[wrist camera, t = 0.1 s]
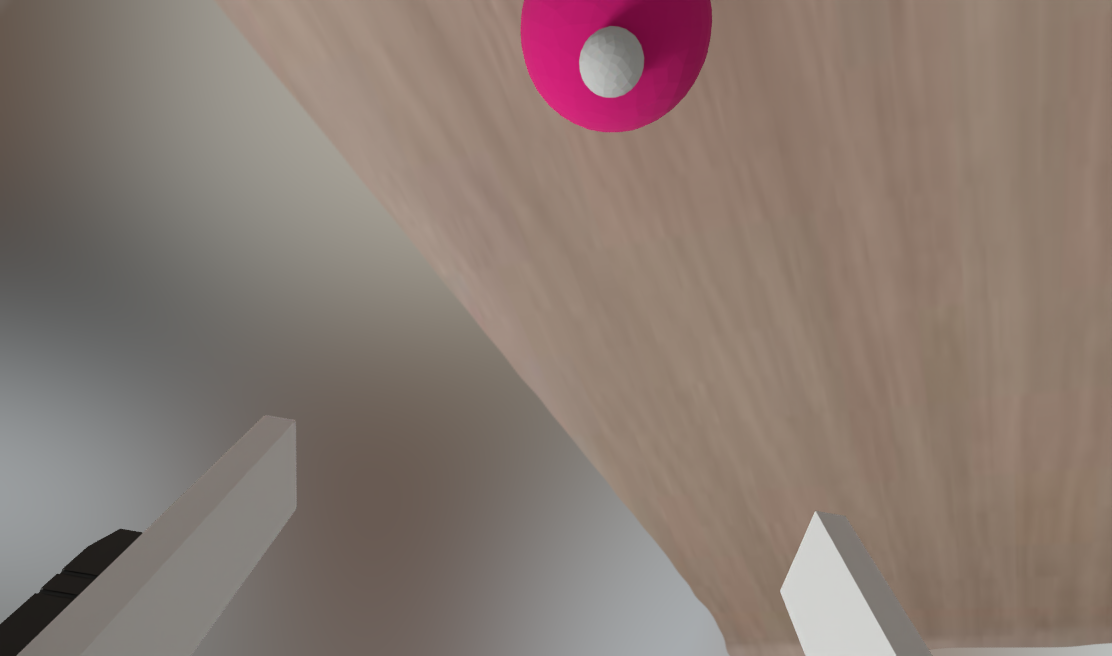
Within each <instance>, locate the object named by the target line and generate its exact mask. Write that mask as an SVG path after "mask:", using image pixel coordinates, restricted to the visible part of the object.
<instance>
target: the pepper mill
mask: <svg viewBox="0 0 1112 656" xmlns="http://www.w3.org/2000/svg"><path fill="white" fill-rule="evenodd" d="M711 27H712V8H711V2H710V0H524V4H523V9H522V16H521V44H522V50H523V54H524V59H525V63H526V66H527V69H528V72H529V75H530V77H531V79H532V81H533V83H534V85H535V87H536V89H537V91H538V92H539V93H540V94H541V96H542V97H543V98H544V99H545V101H546V102H547V103H548V105H549V106H551V107H552V108H553V109H554V110H555V111H556V112H558V113H559V114H560V115H561V116H563V117H564V118H566V119H568V120H569V121H571V122H573V123H574V124H577V125H579V126H582V127H584V128H587V129H589V130H595V131H601V132H623V131H630V130H635V129H638V128H641V127H643V126H645V125H647V124H649V123H652V122H654V121H656V120H658V119H659V118H661V117H662V116H664V115H665V114H666V113H668V112H669V111H670V110H672V109H673V108H674V107H675V106H676V105H677V104H678V103H679V102H680V101H681V100H682V99H683V98H684V97H685V96H686V94H687V93H688V91H689V90H690V88H691V87H692V85H693V84H694V82H695V80H696V79H697V77H698V75H699V72H700V70H701V68H702V66H703V64H704V62H705V59H706V55H707V52H708V47H709V42H710V36H711Z"/></svg>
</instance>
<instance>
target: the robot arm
mask: <svg viewBox="0 0 1112 656" xmlns="http://www.w3.org/2000/svg"><path fill="white" fill-rule="evenodd" d="M296 500H297V499H296V420H291V419H285V418H279V417H274V416H268V415H264V416H263V417H262V418H261V419H260V420H259V421H258V422H257V423H256V424H255V425H254V426H253V427H252V428H251V429H250V430H249V431H248V432H247V433H246V434H245V435H244V436H243V437H242V438H241V439H240V440H239V441H238V442H236V443H235V444H234V445H233V446H232V447H231V448H230V449H229V450H228V451H227V452H226V453H225V454H224V455H223V456H222V457H221V458H220V459H219V460H218V461H217V462H216V463H215V464H214V465H213V466H212V467H211V468H210V469H209V470H208V471H206V472H205V473H204V474H203V476H201V477H200V478H199V479H198V480H197V481H196V482H195V483H194V484H193V485H192V486H191V487H190V488H189V489H188V490H187V491H186V492H185V493H184V494H183V495H182V496H181V497H180V498H179V499H178V500H177V501H176V502H174V503H173V504H172V506H170V507H169V508H168V509H167V510H166V511H165V512H164V513H163V514H162V515H161V516H160V517H159V518H158V519H157V520H156V521H155V522H154V523H153V524H152V525H151V526H150V527H149V528H148V529H147V530H146V531H145V532H144V533H142V532H136V531H130V530H125V529H119V530H117V531H115V532H114V533H112V534H110V535H108V536H106V537H104V538H103V539H101V540H99V541H97V542H95V543H93V544H92V545H90V546H88V547H87V548H86V549H84V550H83V552H81V553H80V554H79V555H78V556H77V557H75V558H74V559H73V560H72V561H71V562H70V563H69V564H68V565H66V566H65V567H64V568H63V569H62V572H61V573H60V574H56V575H55V576H54V577H53V578H52V579H51V580H50V581H48V582H47V583H46V584H45V585H44V586H43V587H42V588H41V590H40V592H39V593H38V594H36V593H35V594H34V595H33V596H32V597H30V599H28V600H27V601H26V602H25V603H24V604H23V605H22V606H20V607H19V608H18V609H17V610H16V611H15V612H14V613H12V614H11V615H10V616H9V617H8V618H7V619H6V620H5V621H4V622H2V623H1V624H0V656H191V655H192V654H193V652H194V651H195V649H196V648H197V647H198V645H199V644H200V642H201V641H202V640H203V638H204V637H205V635H206V634H207V633H208V631H209V630H210V629H211V627H212V625H213V624H214V623H215V621H216V620H217V619H218V617H219V616H220V615H221V613H222V612H223V610H224V609H225V608H226V606H227V605H228V603H229V602H230V601H231V599H232V598H233V596H234V595H235V594H236V592H237V591H238V589H239V588H240V587H241V585H242V584H243V582H244V581H245V580H246V578H247V577H248V575H249V574H250V572H251V571H252V570H253V568H254V567H255V566H256V564H257V563H258V562H259V560H260V559H261V557H262V556H263V554H264V553H265V552H266V550H267V549H268V547H269V546H270V545H271V543H272V542H273V540H274V539H275V538H276V536H277V535H278V534H279V532H280V530H281V529H282V528H283V527H284V525H285V524H286V522H287V521H288V520H289V518H290V517H291V515H292V514H293V513H294V511H295V510H296V508H297V501H296ZM780 592H781V595H782V597H783V600H784V602H785V605H786V607H787V610H788V612H789V615H790V618H791V620H792V623H793V625H794V628H795V630H796V633H797V635H798V638H799V640H800V643H801V645H802V648H803V650H804V653H805V655H806V656H932V654H931V652H930V651H929V649H928V648H927V646H926V644H925V643H924V641H923V640H922V638H921V636H920V635H919V633H918V632H917V630H916V628H915V627H914V625H913V624H912V622H911V620H910V619H909V617H908V616H907V614H906V612H905V611H904V609H903V608H902V606H901V604H900V603H899V601H898V600H897V598H896V596H895V595H894V593H893V592H892V590H891V588H890V587H889V585H888V584H887V582H886V580H885V579H884V577H883V576H882V574H881V572H880V571H879V569H878V568H877V566H876V564H875V563H874V561H873V560H872V558H871V556H870V555H869V553H868V552H867V550H866V548H865V547H864V545H863V544H862V542H861V540H860V539H859V537H858V536H857V534H856V532H855V531H854V529H853V528H852V526H851V524H850V523H849V521H848V520H847V518H846V516H843V515H837V514H831V513H825V512H820V511H815V513H814V515H813V517H812V520H811V522H810V524H809V527H808V529H807V531H806V533H805V536H804V538H803V540H802V543H801V545H800V547H799V549H798V552H797V554H796V556H795V559H794V561H793V563H792V565H791V568H790V570H789V572H788V574H787V577H786V579H785V581H784V584H783V586H782V588H781V590H780Z"/></svg>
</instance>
